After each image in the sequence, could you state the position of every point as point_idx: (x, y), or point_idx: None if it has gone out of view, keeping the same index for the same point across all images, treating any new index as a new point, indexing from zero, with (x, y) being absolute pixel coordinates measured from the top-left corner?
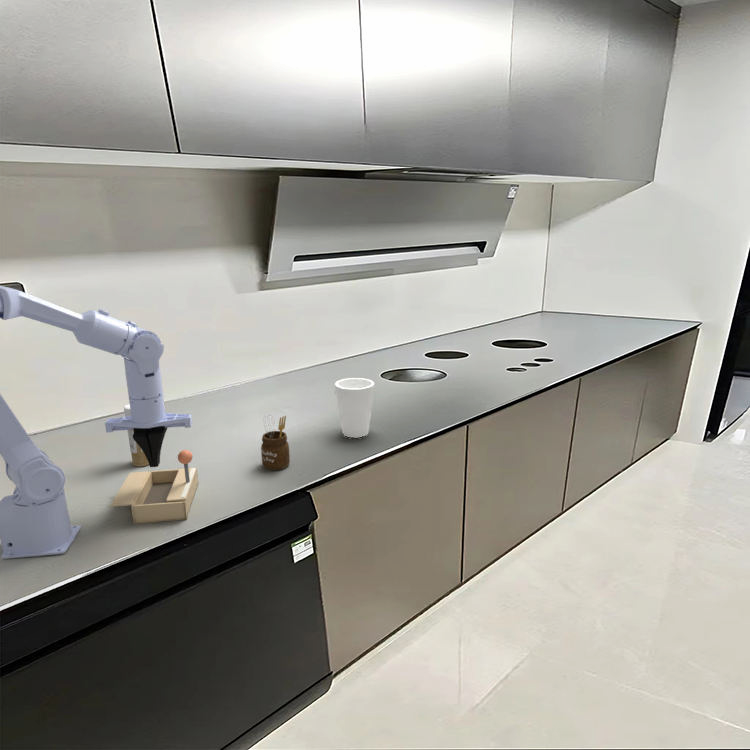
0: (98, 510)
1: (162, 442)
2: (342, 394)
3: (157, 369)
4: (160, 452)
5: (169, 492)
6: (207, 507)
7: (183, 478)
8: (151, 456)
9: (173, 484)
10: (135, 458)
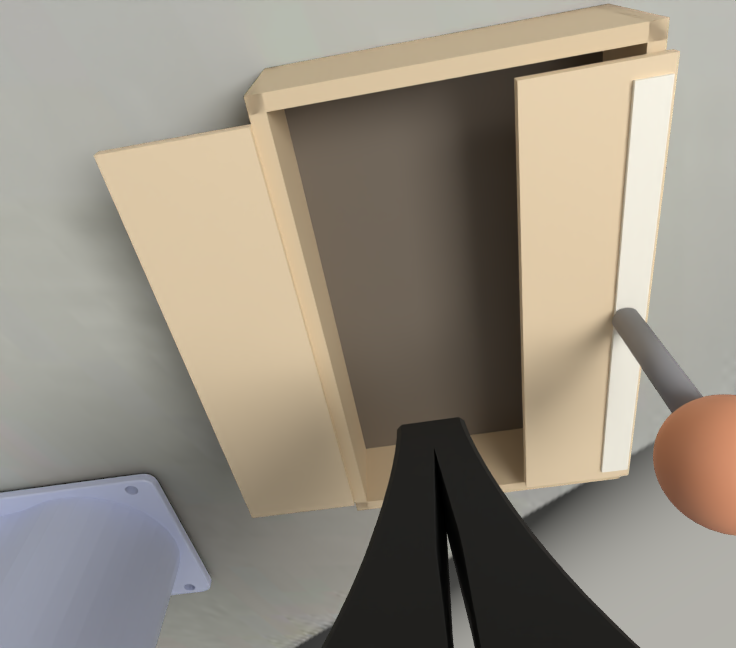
0: (115, 349)
1: (552, 560)
2: None
3: None
4: (492, 476)
5: (449, 221)
6: (680, 316)
7: (582, 260)
8: (447, 579)
9: (527, 343)
10: None
